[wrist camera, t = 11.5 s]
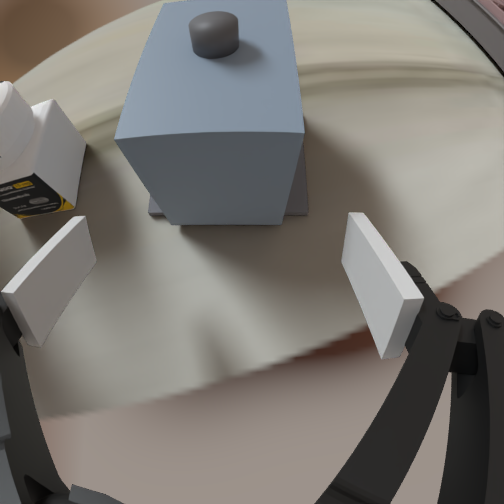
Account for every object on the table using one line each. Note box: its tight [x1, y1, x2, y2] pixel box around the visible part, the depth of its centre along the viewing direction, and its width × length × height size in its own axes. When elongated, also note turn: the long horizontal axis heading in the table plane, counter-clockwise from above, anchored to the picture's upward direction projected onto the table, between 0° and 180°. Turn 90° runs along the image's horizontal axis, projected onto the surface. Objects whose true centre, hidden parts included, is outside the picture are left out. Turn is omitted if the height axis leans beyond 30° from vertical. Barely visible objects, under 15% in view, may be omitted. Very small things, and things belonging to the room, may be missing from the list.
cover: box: [114, 0, 305, 225], centre depth 18 cm, size 8×12×13 cm, turn 0°
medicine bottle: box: [0, 81, 86, 219], centre depth 19 cm, size 7×7×12 cm
